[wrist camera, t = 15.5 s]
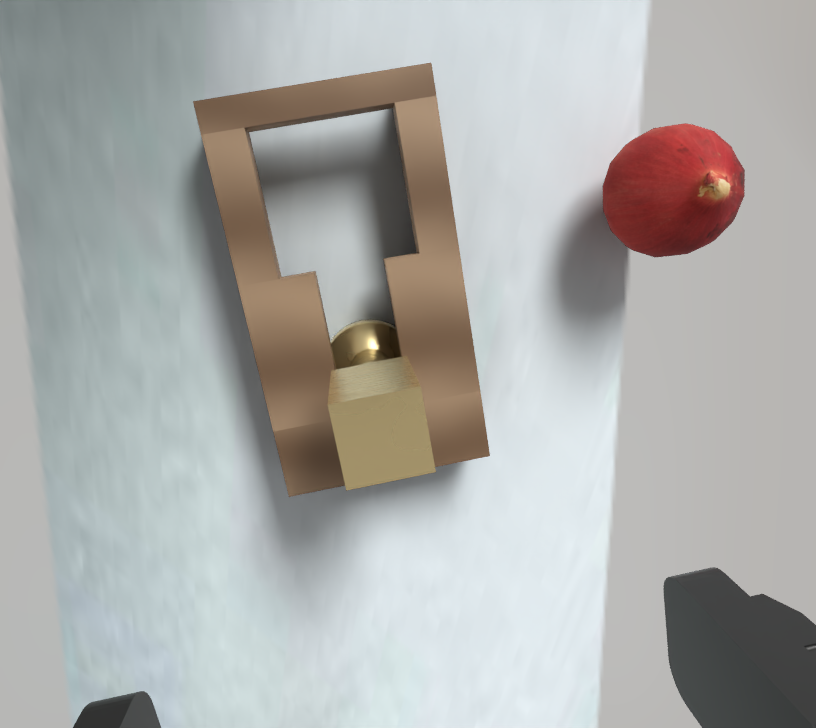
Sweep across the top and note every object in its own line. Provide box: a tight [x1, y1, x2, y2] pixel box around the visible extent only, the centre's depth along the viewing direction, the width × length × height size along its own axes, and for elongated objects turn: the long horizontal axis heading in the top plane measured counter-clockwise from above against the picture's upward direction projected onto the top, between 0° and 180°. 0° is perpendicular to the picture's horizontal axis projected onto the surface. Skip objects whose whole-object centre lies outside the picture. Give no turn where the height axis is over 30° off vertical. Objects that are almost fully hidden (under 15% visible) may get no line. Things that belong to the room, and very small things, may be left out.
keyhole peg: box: [328, 319, 436, 491], centre depth 26 cm, size 5×5×11 cm
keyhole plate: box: [193, 63, 490, 497], centre depth 28 cm, size 18×10×4 cm, turn 10°
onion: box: [603, 124, 744, 257], centre depth 27 cm, size 6×6×8 cm
